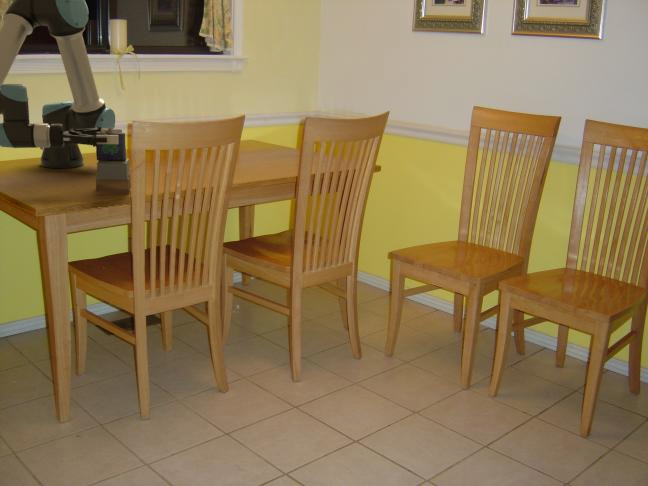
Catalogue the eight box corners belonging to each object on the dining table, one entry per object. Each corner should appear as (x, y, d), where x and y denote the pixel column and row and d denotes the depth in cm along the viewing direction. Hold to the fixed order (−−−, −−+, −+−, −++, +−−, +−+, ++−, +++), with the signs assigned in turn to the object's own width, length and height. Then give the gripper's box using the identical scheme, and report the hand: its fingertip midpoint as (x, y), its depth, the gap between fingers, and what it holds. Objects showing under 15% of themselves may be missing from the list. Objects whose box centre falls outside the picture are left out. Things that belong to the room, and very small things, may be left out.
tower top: (101, 173, 248) (100, 158, 246) (129, 173, 249) (128, 158, 248) (97, 179, 239) (96, 163, 238) (127, 179, 240) (126, 163, 239)
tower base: (99, 187, 250) (99, 173, 248) (131, 187, 251) (130, 172, 250) (96, 194, 240) (95, 179, 239) (129, 194, 242) (128, 179, 241)
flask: (126, 159, 245) (125, 126, 241) (125, 161, 242) (124, 128, 239) (97, 158, 244) (95, 125, 240) (95, 161, 241) (94, 127, 237)
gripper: (57, 141, 250) (123, 141, 254) (44, 154, 227) (117, 154, 231) (56, 118, 248) (122, 119, 252) (42, 129, 225) (116, 130, 228)
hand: (120, 136), depth 241 cm, fingers open, 13 cm apart
